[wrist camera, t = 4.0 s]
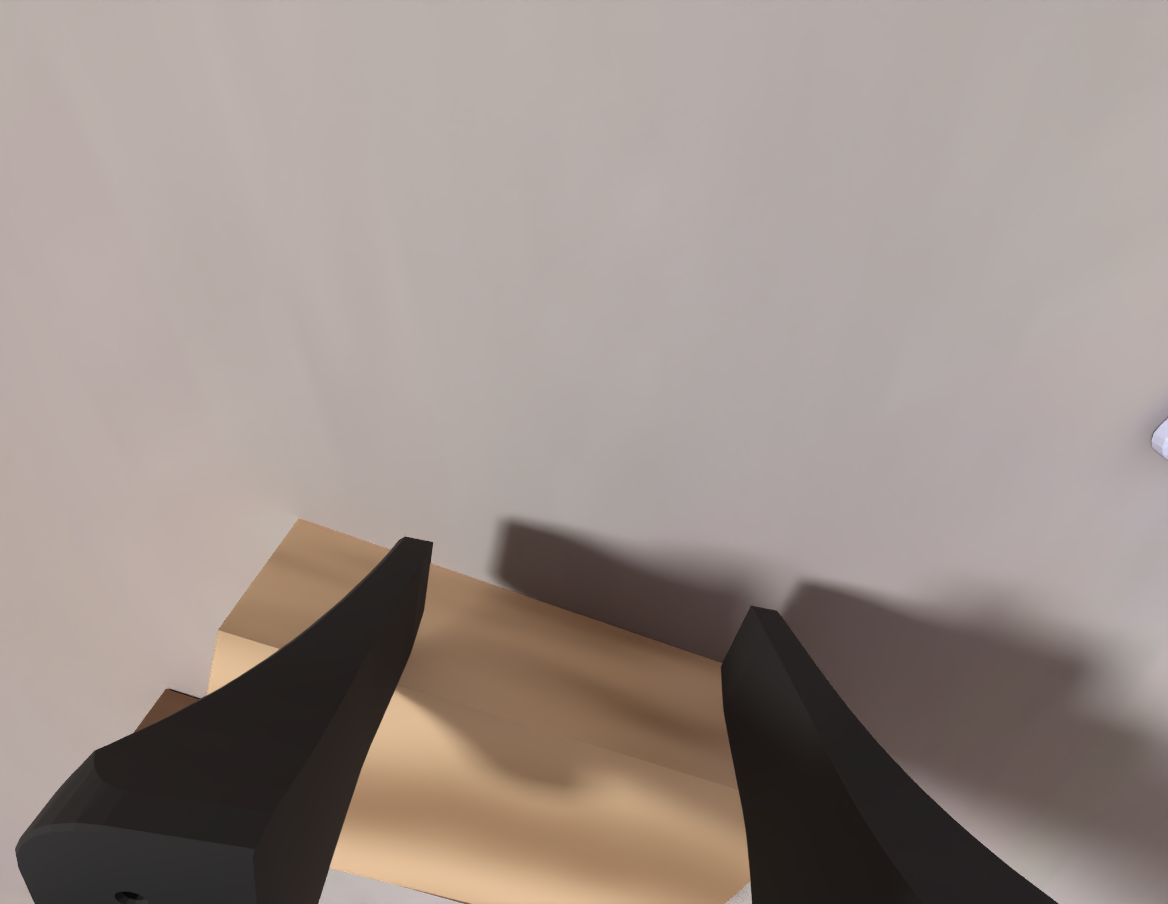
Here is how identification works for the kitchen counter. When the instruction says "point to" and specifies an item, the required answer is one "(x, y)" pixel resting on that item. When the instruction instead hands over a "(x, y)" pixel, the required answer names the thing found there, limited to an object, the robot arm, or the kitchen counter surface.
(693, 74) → the kitchen counter surface
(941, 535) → the kitchen counter surface
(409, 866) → the wooden block
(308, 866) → the robot arm
